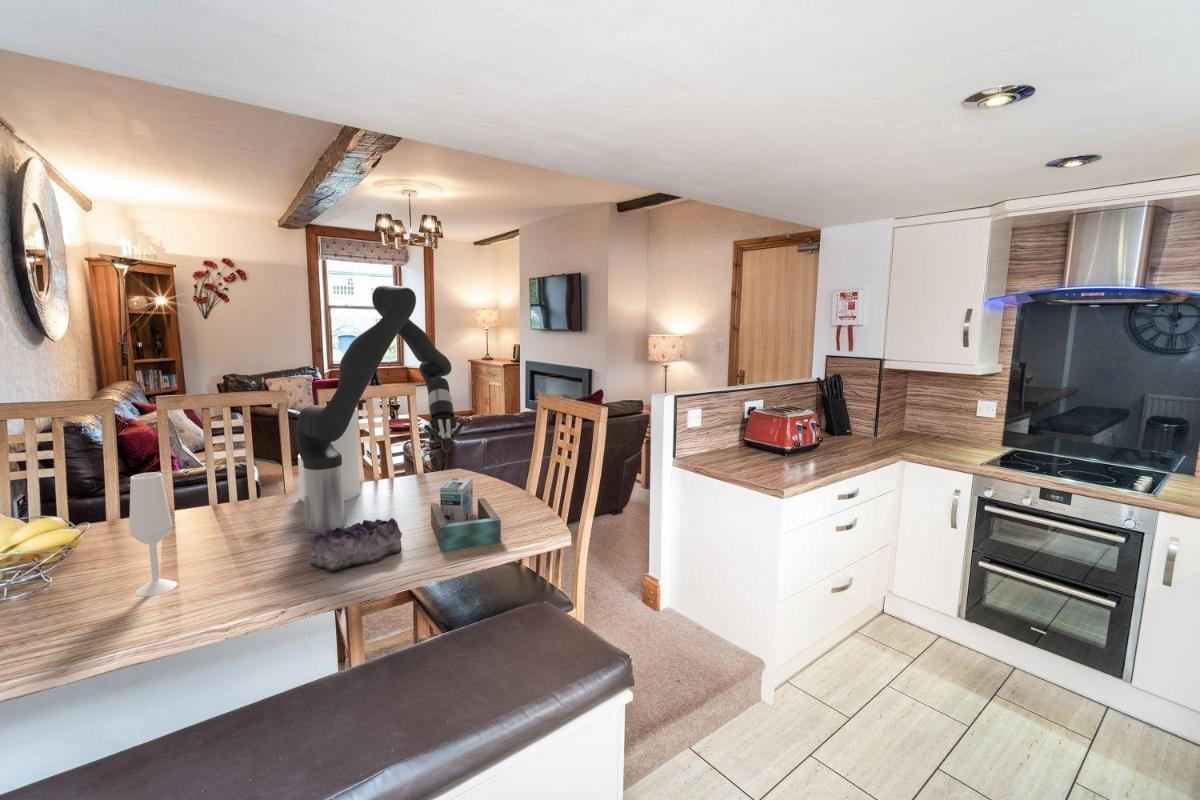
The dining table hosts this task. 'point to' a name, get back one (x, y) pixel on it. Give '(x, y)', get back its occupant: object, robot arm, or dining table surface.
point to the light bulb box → (457, 500)
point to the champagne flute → (150, 524)
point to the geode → (355, 544)
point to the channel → (466, 528)
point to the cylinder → (343, 461)
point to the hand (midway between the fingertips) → (447, 450)
